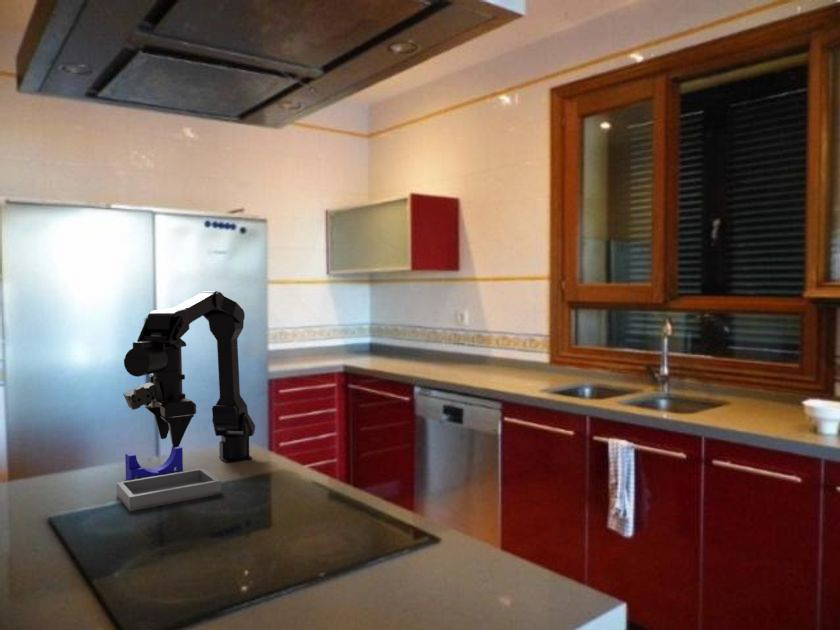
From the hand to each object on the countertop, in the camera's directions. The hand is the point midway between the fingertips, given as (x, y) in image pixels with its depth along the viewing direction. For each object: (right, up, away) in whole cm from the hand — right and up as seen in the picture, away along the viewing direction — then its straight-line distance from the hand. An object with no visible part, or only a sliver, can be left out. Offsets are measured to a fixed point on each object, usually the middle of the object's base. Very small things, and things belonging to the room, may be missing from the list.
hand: (169, 442), depth 138 cm
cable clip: (-8, -11, +13) cm, 19 cm away
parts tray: (+1, -11, -2) cm, 11 cm away
